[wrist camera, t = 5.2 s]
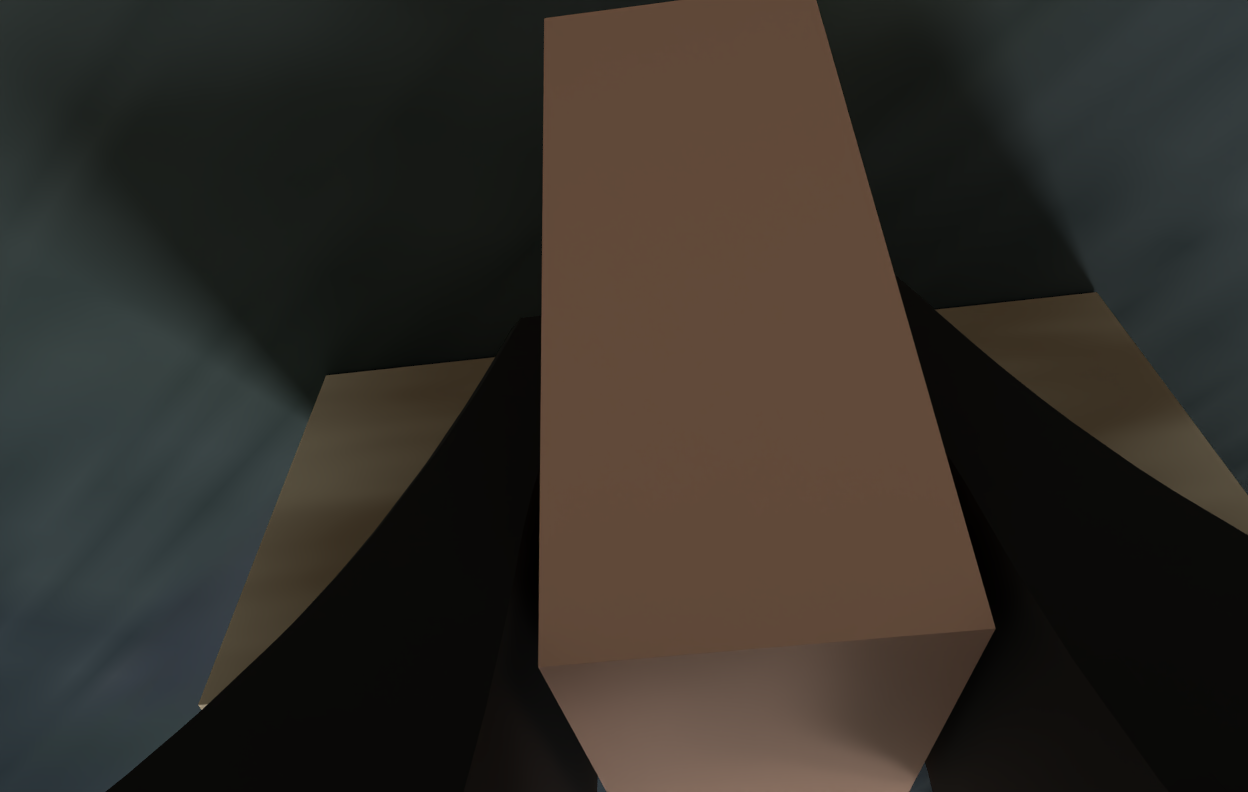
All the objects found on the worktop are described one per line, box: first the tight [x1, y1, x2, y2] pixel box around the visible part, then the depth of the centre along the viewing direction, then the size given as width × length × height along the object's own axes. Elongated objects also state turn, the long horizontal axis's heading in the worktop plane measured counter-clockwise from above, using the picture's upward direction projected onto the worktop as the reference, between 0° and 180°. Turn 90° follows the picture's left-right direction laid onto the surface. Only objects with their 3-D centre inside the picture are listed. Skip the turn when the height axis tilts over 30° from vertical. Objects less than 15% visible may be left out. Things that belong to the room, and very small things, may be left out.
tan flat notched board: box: [538, 0, 996, 792], centre depth 12 cm, size 12×2×6 cm, turn 7°
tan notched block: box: [198, 292, 1248, 710], centre depth 13 cm, size 12×2×6 cm, turn 97°
